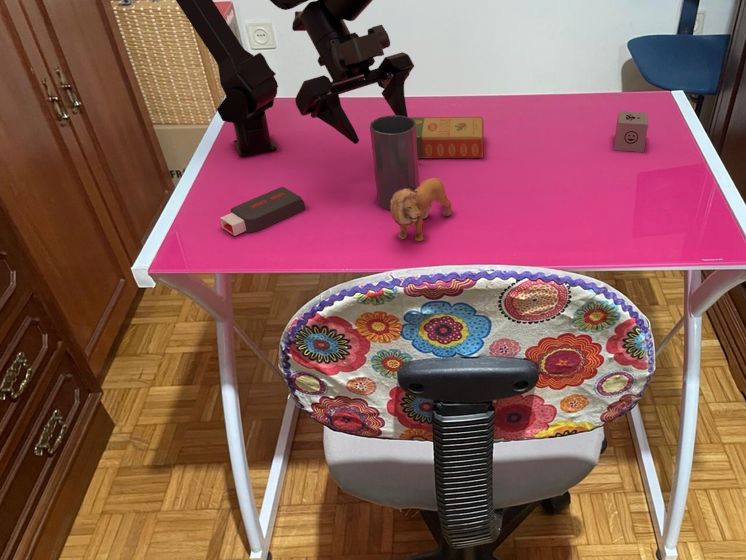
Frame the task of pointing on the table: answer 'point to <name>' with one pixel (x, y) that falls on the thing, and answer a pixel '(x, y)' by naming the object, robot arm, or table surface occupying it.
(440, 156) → the carton
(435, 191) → the lion figurine
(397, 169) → the pen pot
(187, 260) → the table surface
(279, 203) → the usb drive
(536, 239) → the table surface
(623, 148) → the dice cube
